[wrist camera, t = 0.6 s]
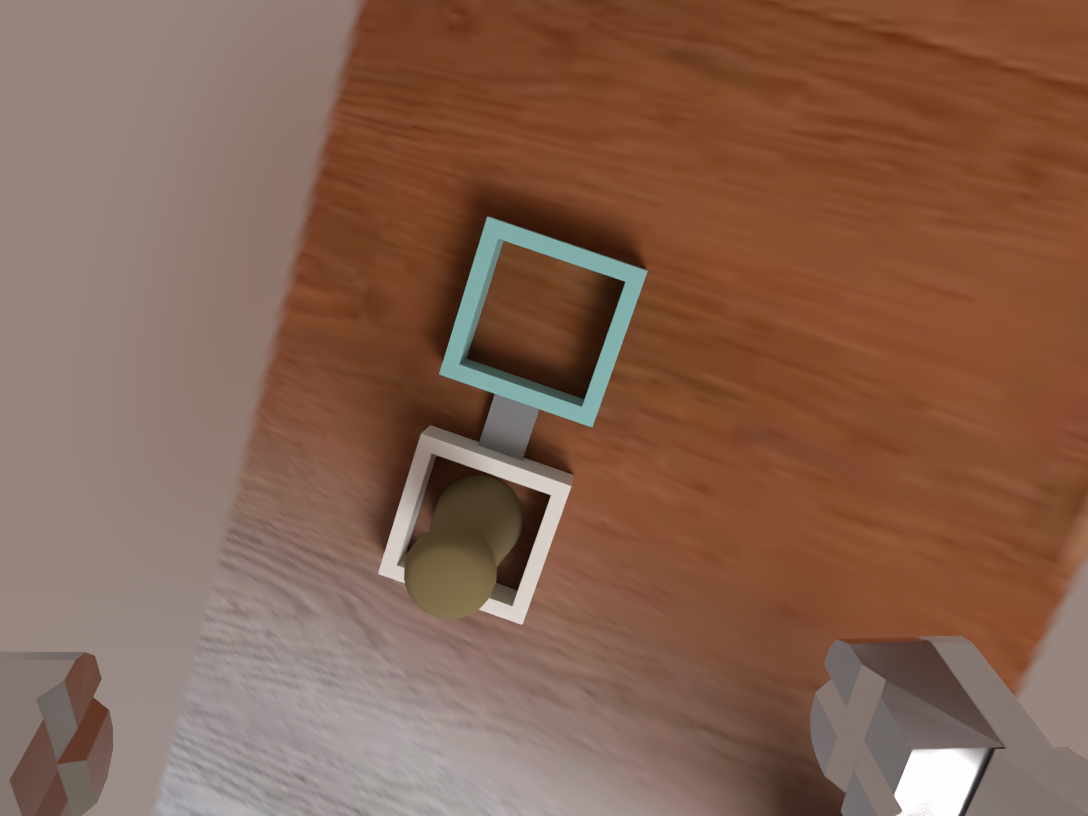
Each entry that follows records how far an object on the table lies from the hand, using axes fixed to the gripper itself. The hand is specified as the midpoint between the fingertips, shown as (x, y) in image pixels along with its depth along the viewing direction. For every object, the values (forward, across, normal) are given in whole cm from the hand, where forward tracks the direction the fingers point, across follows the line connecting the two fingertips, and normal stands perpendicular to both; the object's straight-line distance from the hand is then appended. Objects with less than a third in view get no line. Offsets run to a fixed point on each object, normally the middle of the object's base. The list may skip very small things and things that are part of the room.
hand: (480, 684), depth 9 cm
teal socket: (+42, -6, +12) cm, 44 cm away
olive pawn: (+39, -2, +26) cm, 47 cm away
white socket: (+39, -3, +24) cm, 46 cm away
